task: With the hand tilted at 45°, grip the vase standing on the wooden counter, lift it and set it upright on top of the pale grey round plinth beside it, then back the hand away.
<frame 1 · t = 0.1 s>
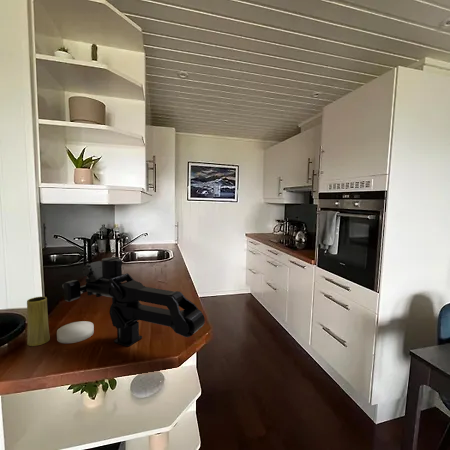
hand: (74, 282, 97), 17 cm above the countertop, tool horizontal, fingers open, 9 cm apart
vase: (38, 342, 87), on the countertop
plinth: (75, 335, 91), on the countertop
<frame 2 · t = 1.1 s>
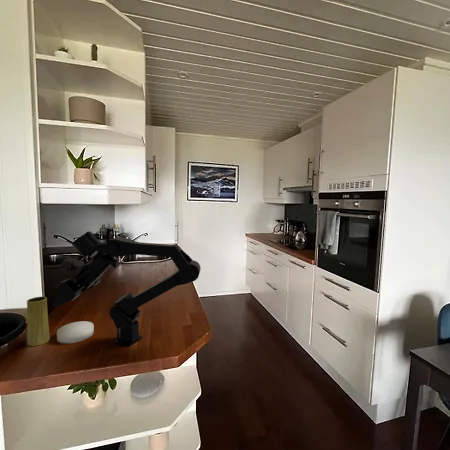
hand: (62, 300, 86), 14 cm above the countertop, tool tilted 45°, fingers open, 9 cm apart
nothing on the countertop moved.
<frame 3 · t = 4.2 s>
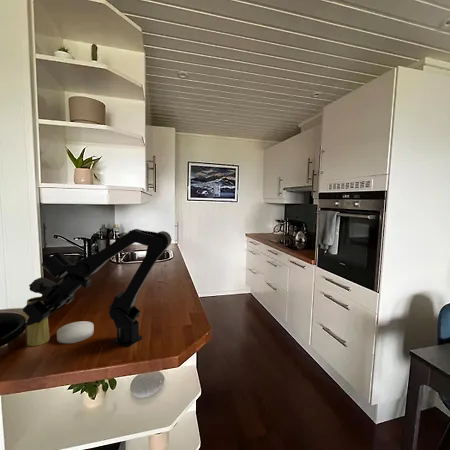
hand: (33, 320, 86), 7 cm above the countertop, tool tilted 45°, fingers closed on vase, 5 cm apart
vase: (38, 342, 87), on the countertop, touching gripper
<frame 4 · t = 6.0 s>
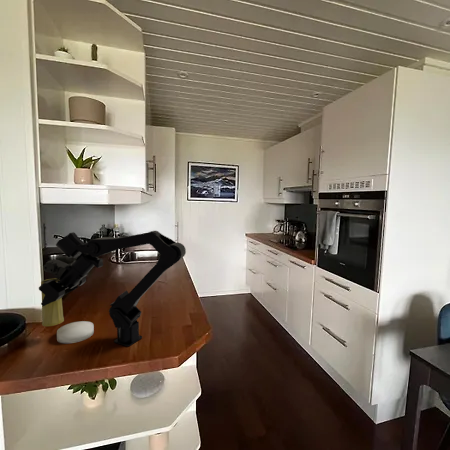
hand: (47, 301, 87), 13 cm above the countertop, tool tilted 45°, fingers closed on vase, 5 cm apart
vase: (53, 323, 88), point 6 cm above the countertop, touching gripper
when the fingers open (11 cm above the countertop, at t = 7.7 s): vase drops 1 cm, resting on plinth.
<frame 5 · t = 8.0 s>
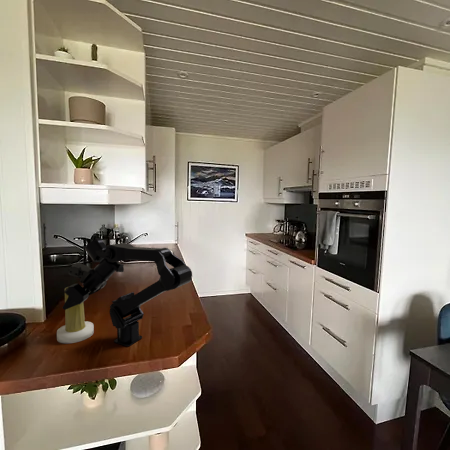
hand: (70, 303, 90), 11 cm above the countertop, tool tilted 45°, fingers open, 8 cm apart
vase: (75, 328, 91), point 2 cm above the countertop, touching plinth
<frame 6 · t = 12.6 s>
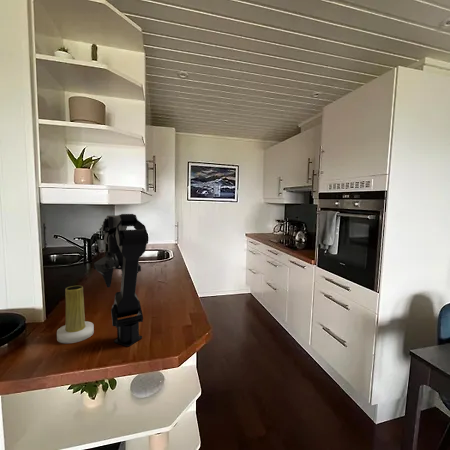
hand: (117, 288, 101), 13 cm above the countertop, tool pointing down, fingers open, 9 cm apart
nothing on the countertop moved.
at the end: vase 0.1 cm off-centre on the plinth, point 2.3 cm above the plinth's base; vase tilted 0°; the gripper is holding nothing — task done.
